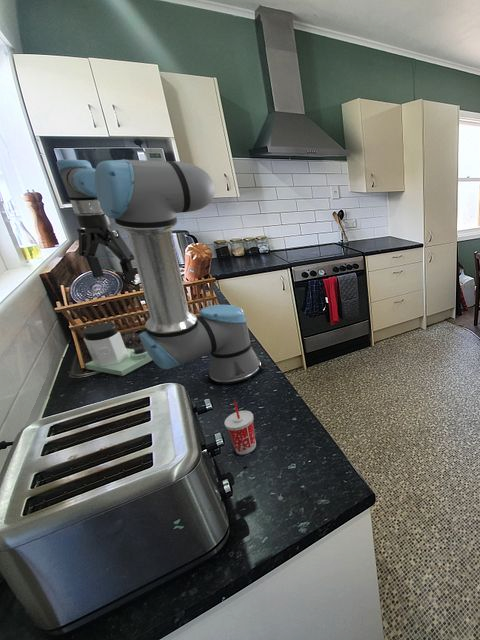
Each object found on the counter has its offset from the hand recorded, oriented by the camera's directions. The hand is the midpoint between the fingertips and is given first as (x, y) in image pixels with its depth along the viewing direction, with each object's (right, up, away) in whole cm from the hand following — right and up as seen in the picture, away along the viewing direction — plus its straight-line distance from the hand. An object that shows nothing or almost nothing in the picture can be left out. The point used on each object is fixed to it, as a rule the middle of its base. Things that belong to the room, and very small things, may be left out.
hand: (115, 278), depth 117 cm
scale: (+2, -29, +1) cm, 29 cm away
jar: (-1, -28, 0) cm, 28 cm away
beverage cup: (+61, -46, -31) cm, 82 cm away
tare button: (+7, -25, +2) cm, 26 cm away
